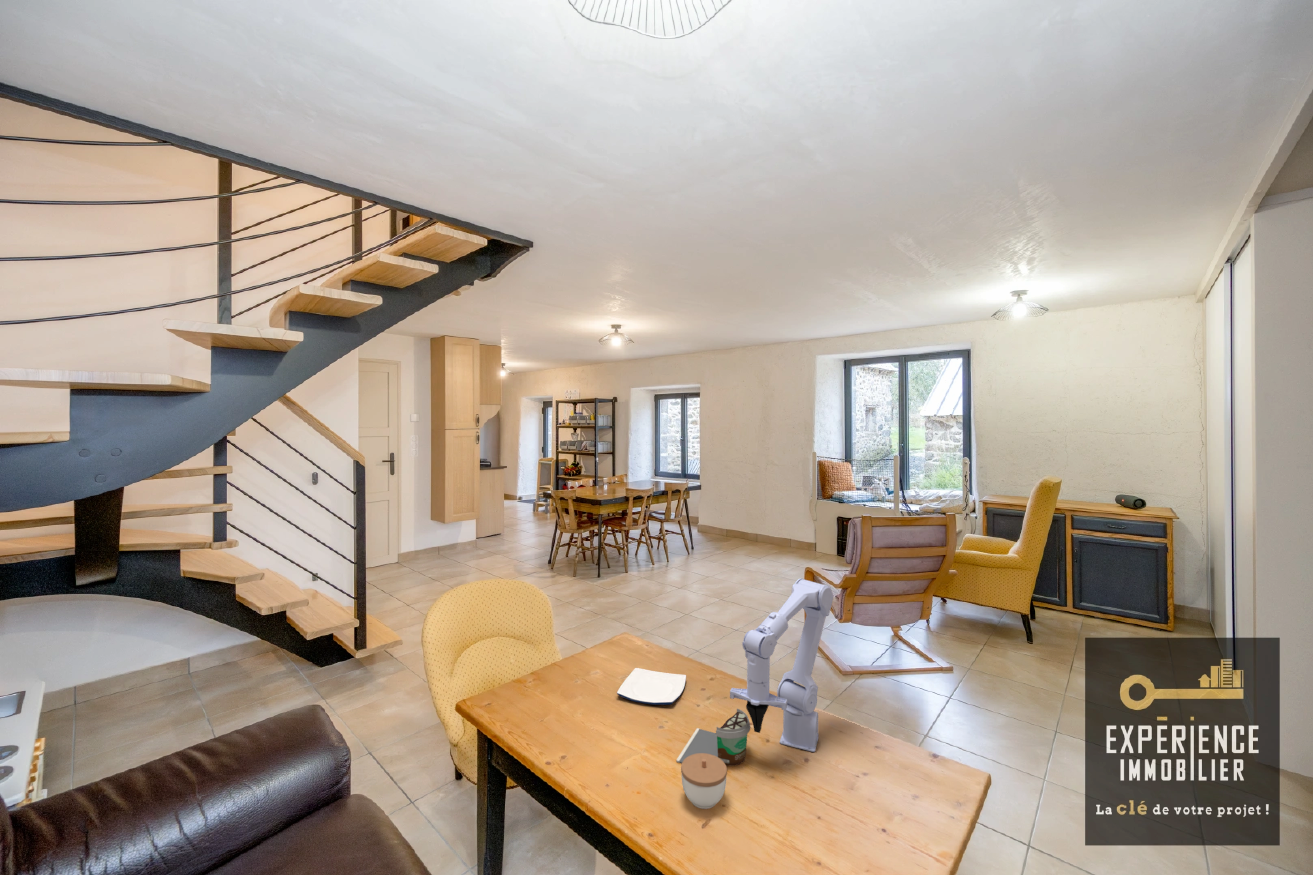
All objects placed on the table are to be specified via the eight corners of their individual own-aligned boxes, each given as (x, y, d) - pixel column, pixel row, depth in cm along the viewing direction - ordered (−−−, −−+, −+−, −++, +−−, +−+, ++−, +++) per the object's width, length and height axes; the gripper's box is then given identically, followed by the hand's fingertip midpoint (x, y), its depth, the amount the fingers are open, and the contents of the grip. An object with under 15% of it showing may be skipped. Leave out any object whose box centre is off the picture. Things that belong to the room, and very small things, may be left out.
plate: (612, 702, 165) (612, 693, 165) (634, 673, 185) (634, 665, 185) (674, 712, 159) (674, 704, 159) (689, 681, 179) (689, 674, 179)
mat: (730, 738, 146) (730, 736, 146) (712, 772, 131) (712, 770, 131) (697, 729, 150) (697, 727, 150) (676, 761, 135) (676, 759, 135)
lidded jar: (697, 777, 129) (698, 740, 129) (735, 797, 122) (735, 758, 122) (671, 801, 121) (671, 761, 121) (710, 824, 114) (710, 781, 114)
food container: (736, 775, 130) (737, 736, 130) (715, 766, 134) (715, 727, 134) (758, 751, 140) (758, 714, 140) (737, 743, 144) (737, 707, 143)
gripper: (726, 679, 133) (726, 731, 134) (783, 691, 128) (783, 745, 128) (734, 667, 140) (733, 717, 140) (788, 678, 134) (788, 730, 134)
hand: (757, 730), depth 134 cm, fingers closed
